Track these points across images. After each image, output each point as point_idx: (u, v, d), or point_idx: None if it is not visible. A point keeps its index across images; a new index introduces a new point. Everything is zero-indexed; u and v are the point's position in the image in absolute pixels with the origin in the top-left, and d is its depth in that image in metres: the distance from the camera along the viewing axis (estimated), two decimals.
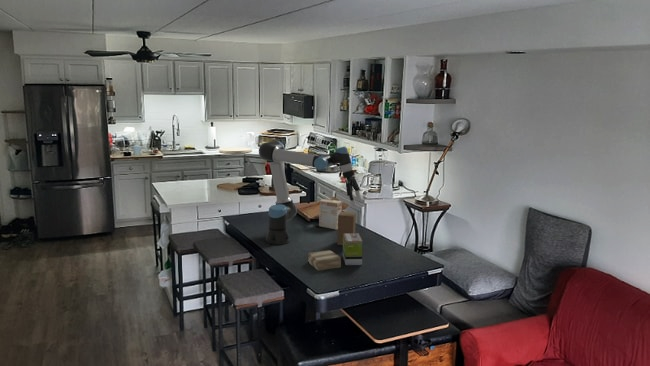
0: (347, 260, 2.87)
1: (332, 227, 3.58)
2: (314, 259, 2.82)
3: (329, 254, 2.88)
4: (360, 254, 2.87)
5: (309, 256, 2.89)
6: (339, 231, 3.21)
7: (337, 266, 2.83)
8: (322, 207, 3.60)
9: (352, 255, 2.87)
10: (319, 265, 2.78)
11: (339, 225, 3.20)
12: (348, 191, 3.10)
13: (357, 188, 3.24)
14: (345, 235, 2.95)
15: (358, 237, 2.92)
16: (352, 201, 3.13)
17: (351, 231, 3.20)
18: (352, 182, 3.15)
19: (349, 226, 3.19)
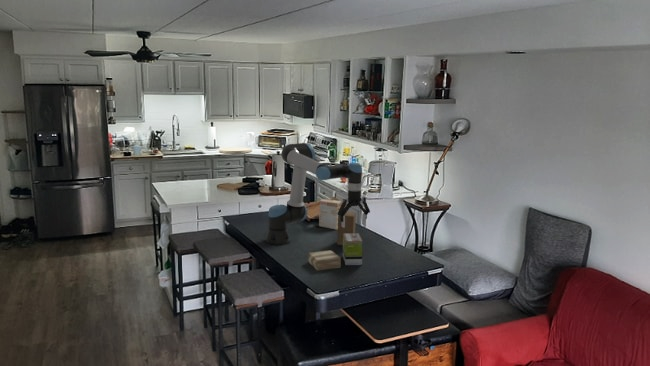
0: (347, 260, 2.87)
1: (332, 227, 3.58)
2: (314, 259, 2.83)
3: (329, 254, 2.88)
4: (360, 254, 2.87)
5: (309, 256, 2.89)
6: (339, 231, 3.21)
7: (337, 266, 2.83)
8: (322, 207, 3.60)
9: (352, 255, 2.87)
10: (318, 265, 2.78)
11: (339, 225, 3.20)
12: (339, 211, 2.85)
13: (364, 211, 2.91)
14: (345, 235, 2.95)
15: (358, 237, 2.92)
16: (342, 222, 2.88)
17: (351, 231, 3.20)
18: (352, 204, 2.86)
19: (349, 226, 3.19)
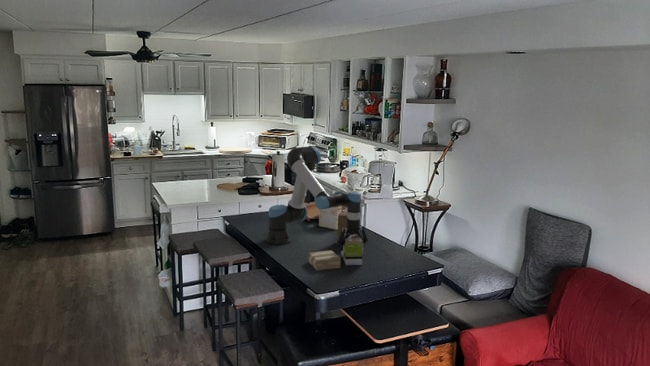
0: (347, 260, 2.87)
1: (332, 227, 3.58)
2: (313, 259, 2.83)
3: (329, 254, 2.88)
4: (361, 254, 2.87)
5: (309, 256, 2.89)
6: (339, 231, 3.21)
7: (336, 266, 2.83)
8: None
9: (352, 255, 2.87)
10: (318, 265, 2.78)
11: (339, 225, 3.20)
12: (339, 240, 2.89)
13: (362, 240, 2.94)
14: None
15: (358, 237, 2.92)
16: (342, 251, 2.91)
17: None
18: (351, 232, 2.89)
19: None
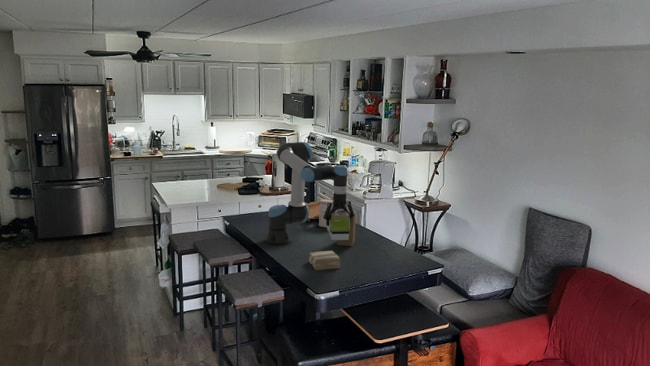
0: (334, 235, 2.80)
1: None
2: (313, 259, 2.83)
3: (329, 254, 2.88)
4: (347, 228, 2.81)
5: (310, 255, 2.90)
6: None
7: (336, 267, 2.83)
8: (322, 207, 3.60)
9: (339, 230, 2.80)
10: (317, 265, 2.79)
11: None
12: (325, 215, 2.82)
13: None
14: None
15: (345, 212, 2.85)
16: (328, 226, 2.84)
17: (351, 231, 3.20)
18: (337, 207, 2.82)
19: None
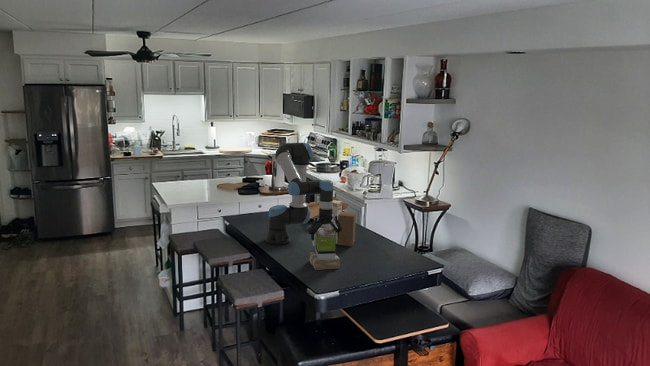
0: (320, 255, 2.78)
1: (332, 227, 3.58)
2: (313, 259, 2.83)
3: None
4: (333, 248, 2.79)
5: (310, 256, 2.90)
6: None
7: (336, 267, 2.82)
8: None
9: (325, 250, 2.78)
10: (316, 265, 2.79)
11: None
12: (310, 229, 2.80)
13: (335, 230, 2.85)
14: None
15: (331, 231, 2.83)
16: (313, 241, 2.82)
17: (351, 231, 3.20)
18: (323, 222, 2.80)
19: (349, 226, 3.19)
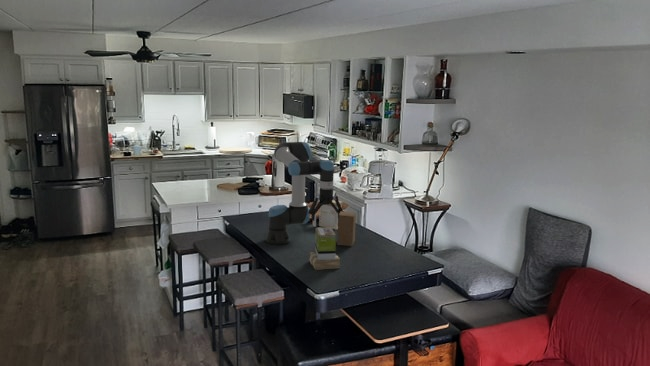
0: (320, 255, 2.79)
1: (332, 227, 3.58)
2: (313, 259, 2.83)
3: None
4: (334, 248, 2.79)
5: (310, 255, 2.90)
6: (339, 231, 3.21)
7: (336, 267, 2.82)
8: (322, 207, 3.60)
9: (325, 250, 2.78)
10: (316, 265, 2.79)
11: (339, 225, 3.20)
12: (310, 210, 2.77)
13: (336, 210, 2.83)
14: (317, 229, 2.86)
15: (331, 231, 2.83)
16: (313, 221, 2.80)
17: (351, 231, 3.20)
18: (323, 202, 2.78)
19: (349, 226, 3.19)
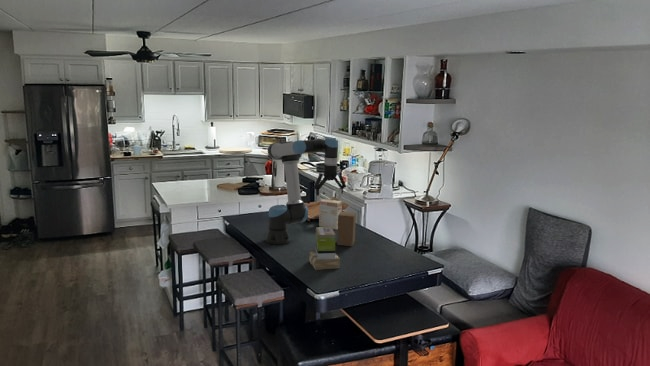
0: (320, 254, 2.79)
1: (332, 227, 3.58)
2: (313, 258, 2.83)
3: None
4: (333, 248, 2.79)
5: (310, 255, 2.90)
6: (339, 231, 3.21)
7: (336, 267, 2.83)
8: (322, 207, 3.60)
9: (325, 249, 2.79)
10: (316, 265, 2.79)
11: (339, 225, 3.20)
12: (315, 185, 2.92)
13: (340, 186, 2.97)
14: (318, 229, 2.87)
15: (331, 231, 2.83)
16: (318, 196, 2.94)
17: (351, 231, 3.20)
18: (327, 178, 2.92)
19: (349, 226, 3.19)
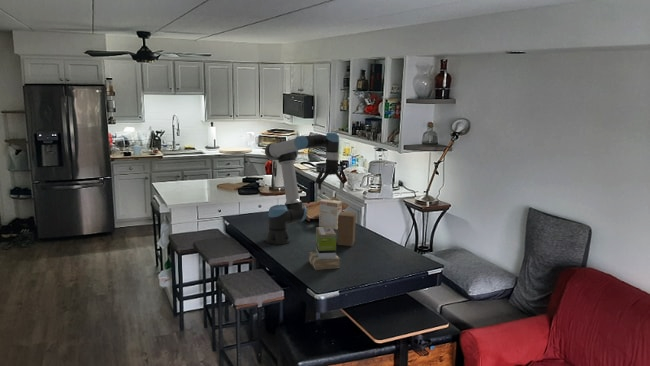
0: (321, 254, 2.79)
1: (332, 227, 3.58)
2: (313, 259, 2.83)
3: None
4: (334, 247, 2.80)
5: (310, 255, 2.90)
6: (339, 231, 3.21)
7: (336, 267, 2.83)
8: (322, 207, 3.60)
9: (326, 249, 2.79)
10: (316, 265, 2.79)
11: (339, 225, 3.20)
12: (317, 179, 2.96)
13: (341, 180, 3.02)
14: (318, 229, 2.87)
15: (331, 230, 2.84)
16: (320, 190, 2.98)
17: (351, 231, 3.20)
18: (329, 172, 2.96)
19: (349, 226, 3.19)
